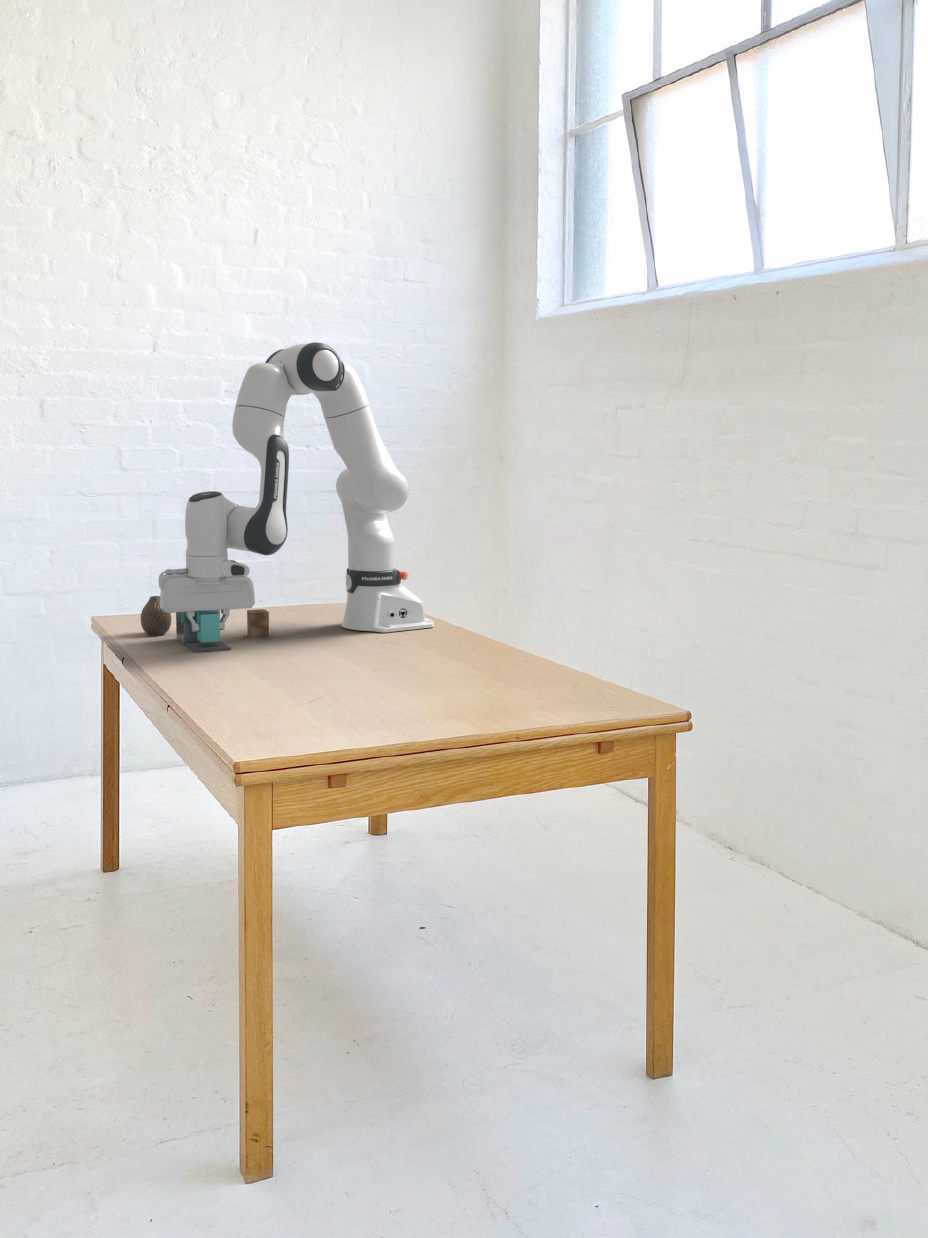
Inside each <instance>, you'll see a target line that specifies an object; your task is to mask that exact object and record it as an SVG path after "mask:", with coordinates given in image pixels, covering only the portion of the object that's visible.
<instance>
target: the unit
mask: <svg viewBox="0 0 928 1238" xmlns="http://www.w3.org/2000/svg"><path fill="white" fill-rule="evenodd" d="M210 611H215V612H217V613H219V620H220V619H221V614H220V613H221V610H210ZM197 612H208V611H195V616H192V618H193V619H194V621H195V622H196V623H197ZM175 622H176V623H175V624H176V625H175V626H176V627H175V630H176V634H175V635H176V639H177V641H178V642H180V643H181V644H183V646H185V645H186V644H192V643H207V642H200V641H199V640H198V639H197V632H193V631H192V623H191V622H190V621H189V619H188V617H187V616H186V612H175ZM215 642H221V640H220V641H215ZM186 646H187V645H186Z"/></svg>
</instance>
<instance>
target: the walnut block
mask: <svg viewBox="0 0 928 1238" xmlns="http://www.w3.org/2000/svg"><path fill="white" fill-rule="evenodd" d="M246 625H247V626H246V627H247V628H246V629H247V631H246V632H247V633H246V635H247V637H249V638H251V640H252V639H253V640H254V639H265V638H266V639H267V638H270V612H269V610H266V609H264V608H262V609H261V608H260V609H259V608H258V609H246Z"/></svg>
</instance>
